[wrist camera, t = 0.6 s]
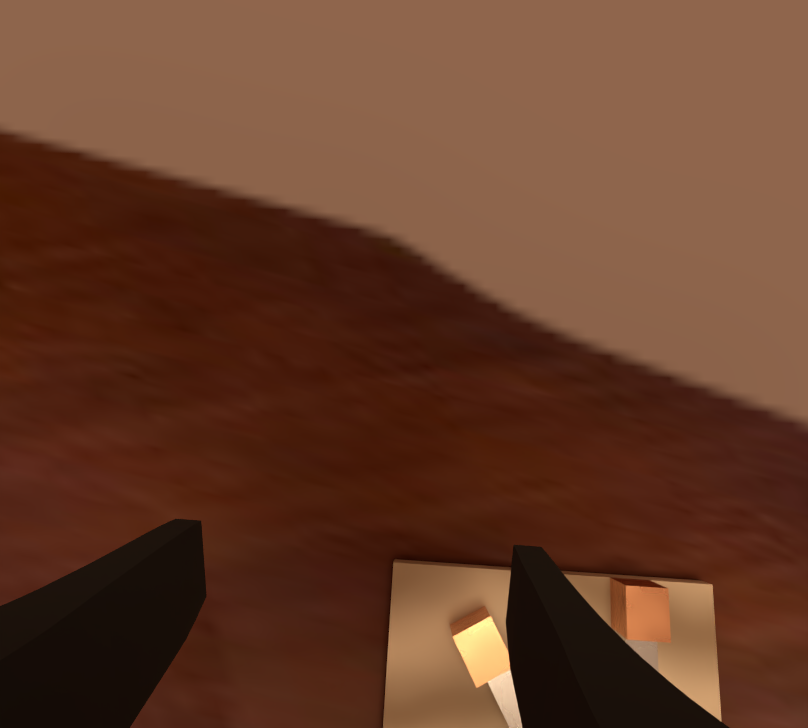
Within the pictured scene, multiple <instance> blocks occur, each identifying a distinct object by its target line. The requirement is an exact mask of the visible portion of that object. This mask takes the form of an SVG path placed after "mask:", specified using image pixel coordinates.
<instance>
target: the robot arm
mask: <svg viewBox="0 0 808 728" xmlns="http://www.w3.org/2000/svg"><path fill="white" fill-rule="evenodd" d="M205 598H206V584H205V569H204V555H203V541H202V526H201V521H197V520H184V519H175V520H172V521H170V522H168V523H166V524H163V525H161V526H159V527H157V528H155V529H154V530H152V531H150V532H148V533H146V534H144V535H142V536H140V537H139V538H137V539H135V540H133V541H131V542H129V543H127V544H126V545H124V546H122V547H120V548H118V549H116V550H114V551H113V552H111V553H109V554H107V555H105V556H103V557H101V558H99V559H98V560H96V561H94V562H92V563H90V564H88V565H86V566H84V567H82V568H80V569H78V570H76V571H74V572H72V573H70V574H68V575H66V576H64V577H62V578H60V579H58V580H56V581H54V582H52V583H50V584H48V585H46V586H44V587H42V588H40V589H38V590H36V591H34V592H31V593H29V594H27V595H25V596H23V597H20V598H18V599H16V600H14V601H11V602H9V603H7V604H4V605H2V606H0V728H130V726H131V725H132V723H133V722H134V720H135V719H136V717H137V715H138V714H139V712H140V711H141V709H142V708H143V706H144V705H145V703H146V701H147V700H148V698H149V697H150V695H151V694H152V692H153V691H154V689H155V687H156V686H157V684H158V683H159V681H160V680H161V678H162V677H163V675H164V673H165V672H166V670H167V669H168V667H169V666H170V664H171V662H172V661H173V659H174V658H175V656H176V654H177V653H178V651H179V650H180V648H181V646H182V645H183V643H184V642H185V640H186V638H187V636H188V634H189V632H190V630H191V628H192V626H193V624H194V622H195V620H196V618H197V616H198V614H199V611H200V609H201V607H202V605H203V603H204V600H205ZM506 632H507V643H508V653H509V662H510V670H511V675H512V680H513V685H514V690H515V694H516V699H517V704H518V709H519V713H520V718H521V723H522V727H523V728H729V727H728V726H726V725H725V724H724V723H722V722H721V721H720V720H718V719H717V718H716V717H714V716H713V715H712V714H710V713H709V712H708V711H706V710H705V709H704V708H702V707H701V706H700V705H698V704H697V703H696V702H694V701H693V700H692V699H690V698H689V697H688V696H687V695H685V694H684V693H683V692H682V691H680V690H679V689H678V688H677V687H675V686H674V685H673V684H672V683H671V682H669V681H668V680H667V679H666V678H665V677H664V676H663V675H661V674H660V673H659V672H658V671H657V670H656V669H654V668H653V667H652V666H651V665H650V664H649V663H648V662H646V661H645V660H644V659H643V658H642V657H641V656H640V655H639V654H638V653H636V652H635V651H634V650H633V649H632V648H631V647H630V646H629V645H628V644H627V643H626V642H625V641H624V640H623V639H622V638H621V637H620V636H619V635H618V634H617V633H616V632H615V631H614V630H613V629H612V628H611V627H610V626H609V625H608V624H607V623H606V622H605V621H604V620H603V619H602V618H601V617H600V616H599V614H598V613H597V612H596V611H595V610H594V609H593V608H592V607H591V606H590V604H589V603H588V602H587V601H586V600H585V599H584V598H583V597H582V595H581V594H580V593H579V592H578V591H577V590H576V588H575V587H574V586H573V585H572V584H571V582H570V581H569V580H568V579H567V578H566V576H565V575H564V574H563V573H562V571H561V570H560V569H559V568H558V567H557V565H556V564H555V563H554V562H553V560H552V559H551V558H550V557H549V555H548V554H547V553H546V552H545V551H544V550H543V548H542V547H535V546H522V545H514V546H513V556H512V565H511V575H510V585H509V594H508V604H507V614H506Z"/></svg>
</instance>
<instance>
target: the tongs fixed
mask: <svg viewBox="0 0 808 728" xmlns="http://www.w3.org/2000/svg"><path fill="white" fill-rule="evenodd" d="M610 600H611V628H612V629H613V630H614V631H615V632H616V633H617V634H618V635H619V636H620V637H621V638H622V639H623V640H624V641H625V642H626V643H627V644H628V645H629V646H630V647H631V648H632V649H633V650H634V651H635V652H636V653H638V654H639V655H640V656H641V657H642V658H643V659H644V660H645V661H646V662H648V663H649V664H650V665H651V666H652V667H653V668H654V669H656V670H657V671H658V672H659V669H658V646H657V642H666V643H671V632H670V612H669V591H668V588H666V587H664V586H662V585H659V584H657V583H655V582H652V581H650V580H639V579H625V578H610Z"/></svg>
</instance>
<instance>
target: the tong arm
mask: <svg viewBox="0 0 808 728" xmlns="http://www.w3.org/2000/svg"><path fill="white" fill-rule="evenodd" d="M450 628H451V632H452V636H453V639H454V641H455V643H456V645H457V647H458V649H459V651H460V653H461V656H462V658H463V660H464V662H465V664H466V666H467V668H468V670H469V672H470V675H471V677H472V679H473V681H474V683H475V685H476V687H479V686H481V685H483V684H485V683H486V682H488V684H489V686H490V688H491V690H492V692H493V695H494V697H495V699H496V701H497V703H498V705H499V707H500V709H501V711H502V713H503V715H504V717H505V720H506V722H507V724H508V726H509V728H523V727H522V723H521V718H520V713H519V709H518V704H517V699H516V694H515V690H514V685H513V680H512V675H511V670H510V662H509V653H508V651H507V649H506V647H505V645H504V642H503V640H502V638H501V636H500V634H499V632H498V630H497V628H496V626H495V624H494V622H493V620H492V618H491V616H490V614H489V613H488V611H487V609H486V607H485V606H483V607H482V608H480V609H478V610H476V611H474V612H472V613H470V614H469V615H467V616H465V617H463V618H461V619H459V620H458V621H456V622H454V623H452V624H450Z"/></svg>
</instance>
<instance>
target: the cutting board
mask: <svg viewBox="0 0 808 728" xmlns="http://www.w3.org/2000/svg"><path fill="white" fill-rule="evenodd" d="M562 573H563V574H564V575H565V576H566V578H567V579H568V580H569V581H570V582H571V584H572V585H573V586H574V587H575V588H576V590H577V591H578V592H579V593H580V594H581V595H582V597H583V598H584V599H585V600H586V601H587V602H588V603H589V604H590V606H591V607H592V608H593V609H594V610H595V611H596V612H597V613H598V614H599V616H600V617H601V618H602V619H603V620H604V621H605V622H606V623H607V624H608V625H609V626H610V627H611V600H610V578H625V579H639V580H650V581H652V582H655V583H657V584H659V585H662V586H664V587H666V588H668V591H669V612H670V632H671V643H666V642H657V646H658V669H659V673H660V674H661V675H663V676H664V677H665V678H666V679H667V680H668V681H669V682H671V683H672V684H673V685H674V686H675V687H677V688H678V689H679V690H680V691H682V692H683V693H684V694H685V695H687V696H688V697H689V698H690V699H692V700H693V701H694V702H696V703H697V704H698V705H700V706H701V707H702V708H704V709H705V710H706V711H708V712H709V713H710V714H712V715H713V716H714V717H716V718H717V719H718V720H720V721H721V708H720V693H719V678H718V663H717V648H716V632H715V617H714V602H713V587H712V584H709V583H706V582H704V581H701V580H687V579H673V578H658V577H644V576H629V575H615V574H601V573H586V572H572V571H562ZM510 575H511V567H500V566H485V565H471V564H456V563H442V562H428V561H413V560H399V559H394V562H393V577H392V593H391V609H390V624H389V640H388V656H387V672H386V688H385V703H384V719H383V728H509V726H508V724H507V722H506V720H505V717H504V715H503V713H502V711H501V709H500V707H499V705H498V703H497V701H496V699H495V697H494V695H493V692H492V690H491V688H490V686H489V684H488V682H486V683H485V684H483V685H481V686H479V687H476V685H475V683H474V681H473V679H472V677H471V675H470V672H469V670H468V668H467V666H466V664H465V662H464V660H463V658H462V656H461V653H460V651H459V649H458V647H457V645H456V643H455V641H454V639H453V636H452V632H451V628H450V624H452V623H454V622H456V621H458V620H459V619H461V618H463V617H465V616H467V615H469V614H470V613H472V612H474V611H476V610H478V609H480V608H482V607H483V606H485V607H486V609H487V611H488V613H489V614H490V616H491V618H492V620H493V622H494V624H495V626H496V628H497V630H498V632H499V634H500V636H501V638H502V640H503V642H504V645H505V647H506V649H507V651H508V643H507V632H506V614H507V604H508V594H509V585H510Z"/></svg>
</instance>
